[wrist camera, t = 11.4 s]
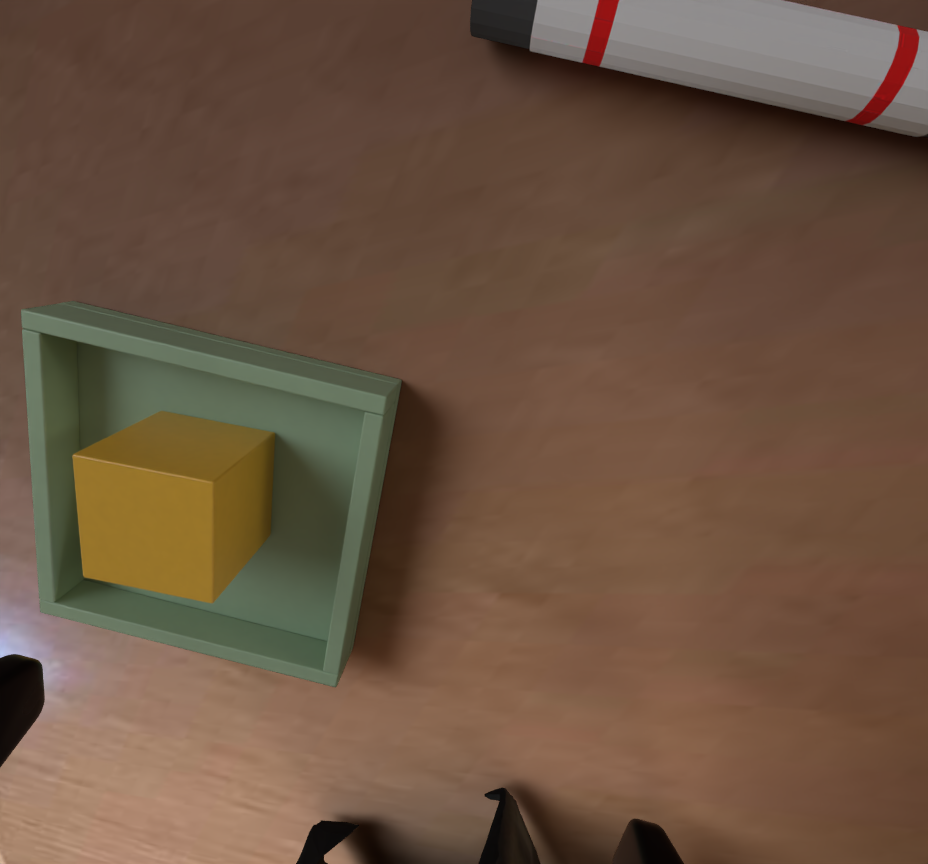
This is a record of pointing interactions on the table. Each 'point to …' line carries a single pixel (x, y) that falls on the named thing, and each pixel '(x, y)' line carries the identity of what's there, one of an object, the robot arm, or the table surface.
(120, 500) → the mustard cube
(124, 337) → the tray
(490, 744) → the table surface
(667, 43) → the marker
